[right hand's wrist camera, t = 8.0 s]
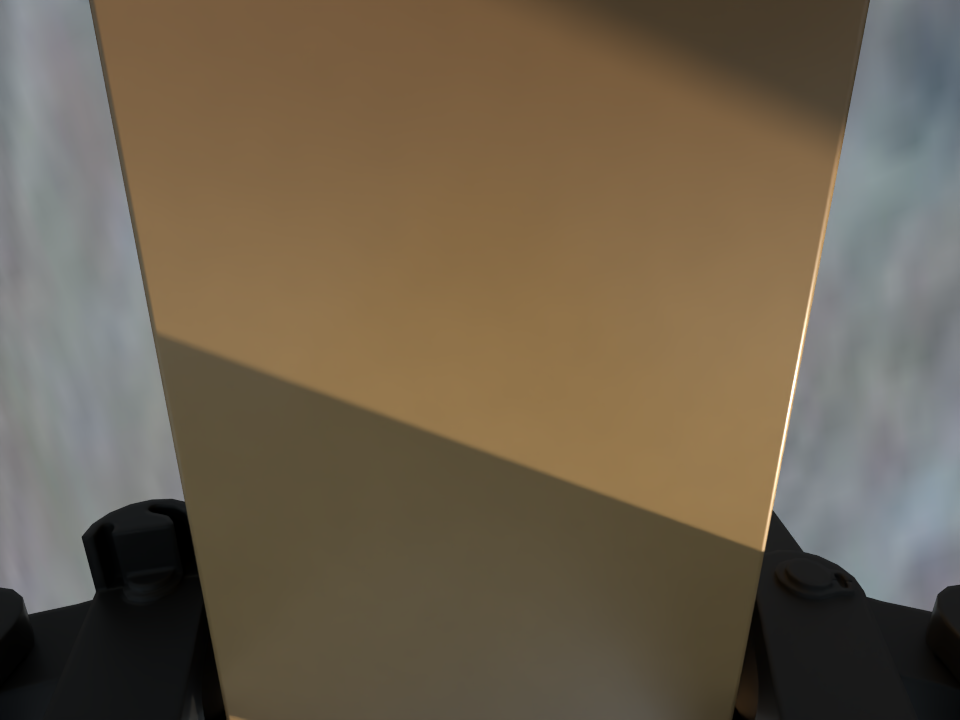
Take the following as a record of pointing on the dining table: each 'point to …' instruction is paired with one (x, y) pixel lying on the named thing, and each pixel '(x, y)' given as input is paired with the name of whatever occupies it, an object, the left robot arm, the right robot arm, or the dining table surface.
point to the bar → (479, 334)
